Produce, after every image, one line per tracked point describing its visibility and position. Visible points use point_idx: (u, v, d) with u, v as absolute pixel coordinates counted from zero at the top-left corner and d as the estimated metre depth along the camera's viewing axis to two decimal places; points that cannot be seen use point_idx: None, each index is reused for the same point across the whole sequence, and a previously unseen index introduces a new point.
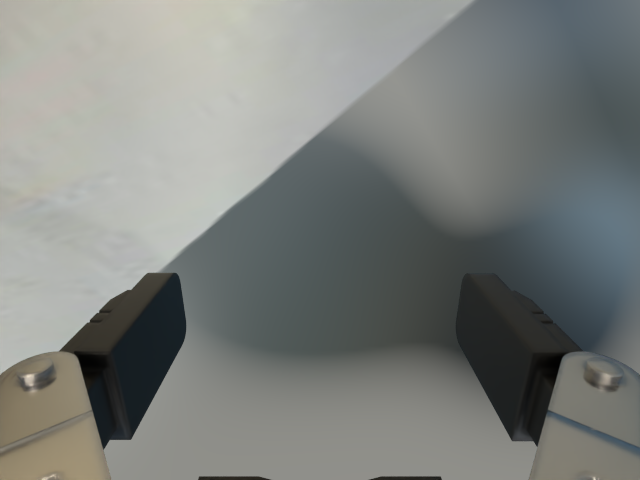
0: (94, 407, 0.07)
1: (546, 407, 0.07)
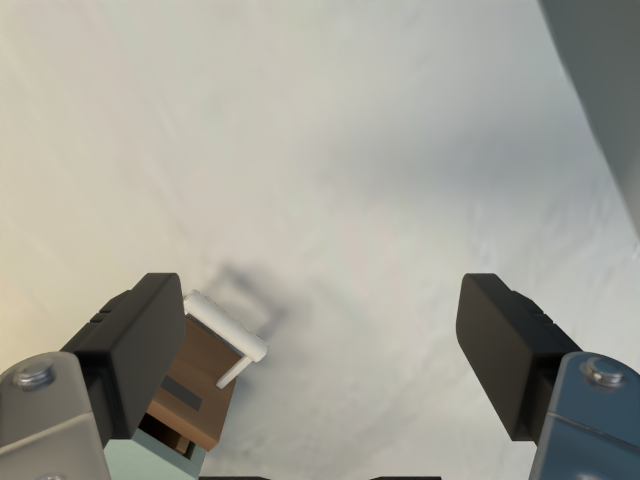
0: (94, 407, 0.07)
1: (546, 407, 0.07)
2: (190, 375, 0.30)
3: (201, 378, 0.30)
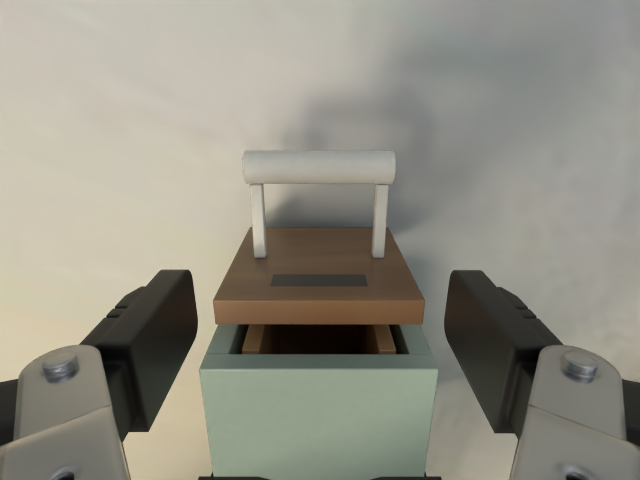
0: (115, 399, 0.07)
1: (525, 399, 0.07)
2: (330, 262, 0.20)
3: (347, 260, 0.20)
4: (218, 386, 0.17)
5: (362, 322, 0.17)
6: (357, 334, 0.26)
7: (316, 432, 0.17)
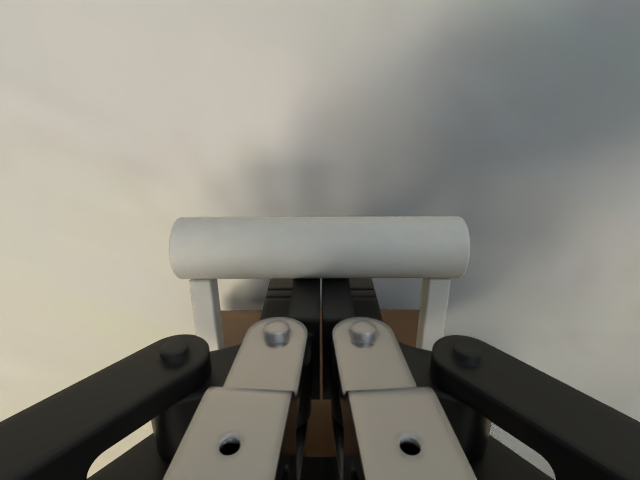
0: (310, 366, 0.08)
1: (331, 365, 0.08)
2: None
3: None
4: None
5: None
6: None
7: None
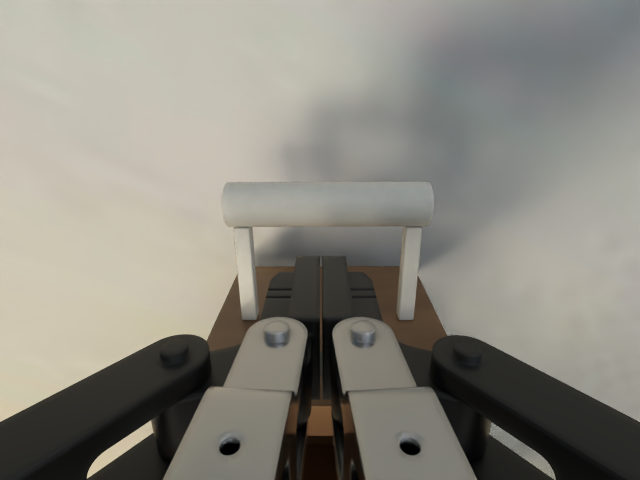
0: (310, 366, 0.08)
1: (331, 365, 0.08)
2: None
3: None
4: None
5: None
6: None
7: None
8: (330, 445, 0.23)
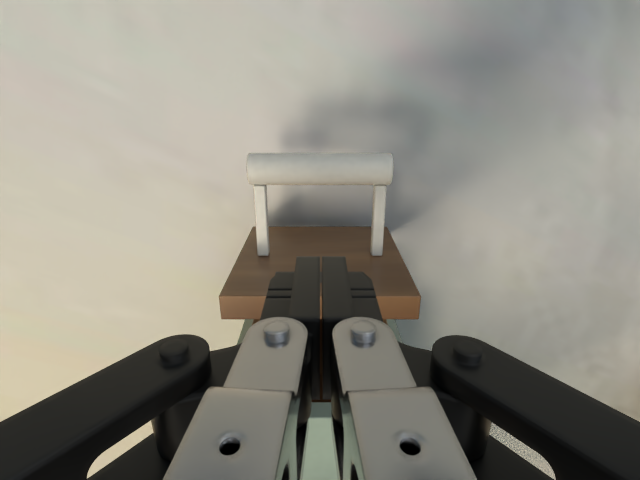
0: (310, 366, 0.08)
1: (331, 365, 0.08)
2: None
3: (347, 258, 0.21)
4: None
5: None
6: None
7: (317, 471, 0.19)
8: None
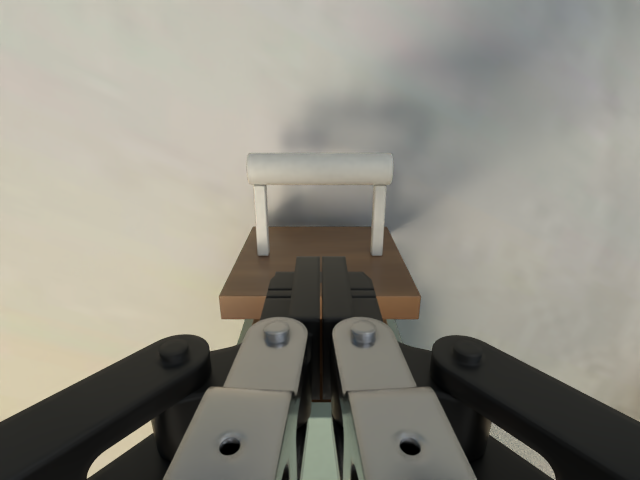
0: (310, 366, 0.08)
1: (331, 365, 0.08)
2: None
3: (347, 258, 0.21)
4: None
5: None
6: None
7: (317, 471, 0.19)
8: None
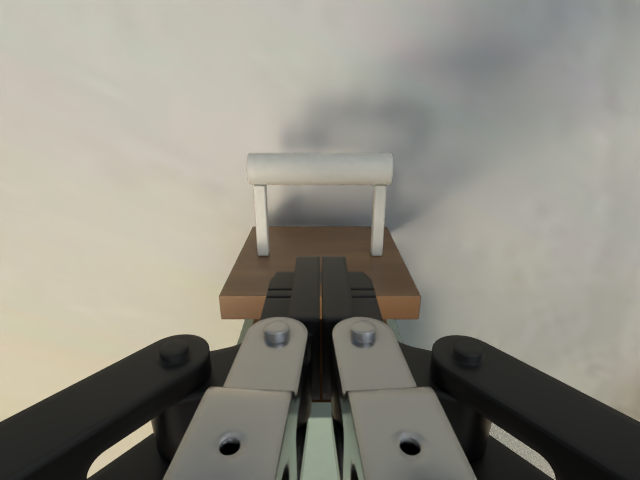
0: (310, 366, 0.08)
1: (331, 365, 0.08)
2: None
3: (347, 258, 0.21)
4: None
5: None
6: None
7: (317, 471, 0.19)
8: None
